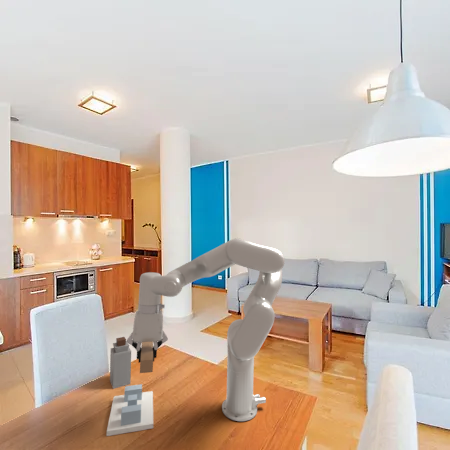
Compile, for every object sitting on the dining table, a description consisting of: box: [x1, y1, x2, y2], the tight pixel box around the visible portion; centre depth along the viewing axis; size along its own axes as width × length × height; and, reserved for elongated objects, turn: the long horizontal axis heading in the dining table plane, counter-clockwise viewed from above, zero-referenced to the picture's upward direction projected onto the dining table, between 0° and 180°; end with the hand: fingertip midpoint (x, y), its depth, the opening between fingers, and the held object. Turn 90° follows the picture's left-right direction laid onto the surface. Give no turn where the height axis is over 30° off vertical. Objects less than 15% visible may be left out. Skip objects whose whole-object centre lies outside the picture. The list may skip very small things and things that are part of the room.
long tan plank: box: [139, 342, 154, 374], centre depth 96 cm, size 4×16×4 cm, turn 15°
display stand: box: [106, 383, 154, 437], centre depth 95 cm, size 14×18×6 cm
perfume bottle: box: [109, 336, 132, 389], centre depth 113 cm, size 7×7×18 cm
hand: (146, 359), depth 96 cm, fingers closed on long tan plank, 4 cm apart
